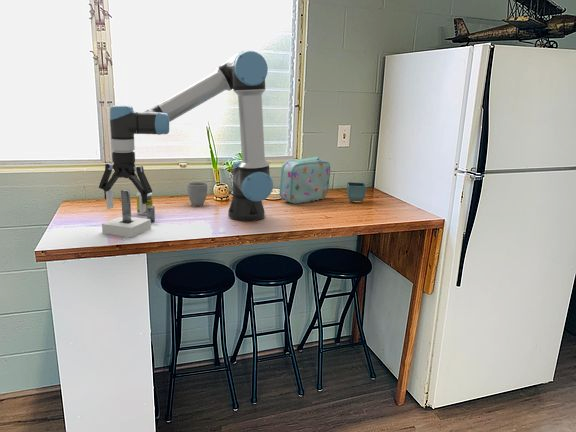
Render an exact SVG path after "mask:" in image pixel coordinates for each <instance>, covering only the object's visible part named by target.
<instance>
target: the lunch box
mask: <svg viewBox="0 0 576 432" xmlns="http://www.w3.org/2000/svg"><path fill="white" fill-rule="evenodd" d="M330 177H331V164H330V163H329V162H328V161H326V160H323V159H321V158H320V157H319V156H313V157H307V158H298V159H287V160H286V161H284V162H283V164H282V166H281V171H280V183H279V196H280V199H281V200H282V201H287V202H288V203H291V204H294V205H297V204H302V203H303V202H304V203H312V202H311V201H313V202H315V200H317V201H320V200H319V199H322V198H324V199H325V198H326V196H327V195H328V191H329V187H330V186H329V185H330ZM322 200H323V199H322ZM304 203H303V204H304Z"/></svg>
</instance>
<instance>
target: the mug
mask: <svg viewBox="0 0 576 432" xmlns="http://www.w3.org/2000/svg"><path fill="white" fill-rule="evenodd" d="M186 185H187V195H188V199H189V201H190V204H191V205H192V207H193V206H194V207H200V206H201V207H202V206H204V205H205V201H206V198H207V195H208V183H207V182H204V181H192V182H187V184H186Z"/></svg>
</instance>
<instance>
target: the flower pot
mask: <svg viewBox="0 0 576 432" xmlns="http://www.w3.org/2000/svg"><path fill="white" fill-rule="evenodd" d="M367 188H368V186H367V185H366V184H365V182H353V181H351V182H350V181H347V182H346V193H347V198H348V200H349V202H350V201H362V202H363V201H364V200H365V197H366V193H367Z"/></svg>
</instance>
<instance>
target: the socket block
mask: <svg viewBox="0 0 576 432" xmlns="http://www.w3.org/2000/svg"><path fill="white" fill-rule="evenodd" d="M101 228H102V229H101V230H102V231H101V232H102V234H104V233H105V234H106V235H111V234H113V236H118V235H119V237H124V238H126V237H127V238H134V237H136V236H138V235H140V234H143V233H145V232H147V231H148V230H151V229H152V223H151V219H147V218H143V217H135V216H134V217H133V216H131V223H129V224H127V223H123V220H122V215H121V216H118V217H116V218H113V219H110V220H109V221H108V220H107V221H106V222H103V223H101ZM105 234H104V235H105Z"/></svg>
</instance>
